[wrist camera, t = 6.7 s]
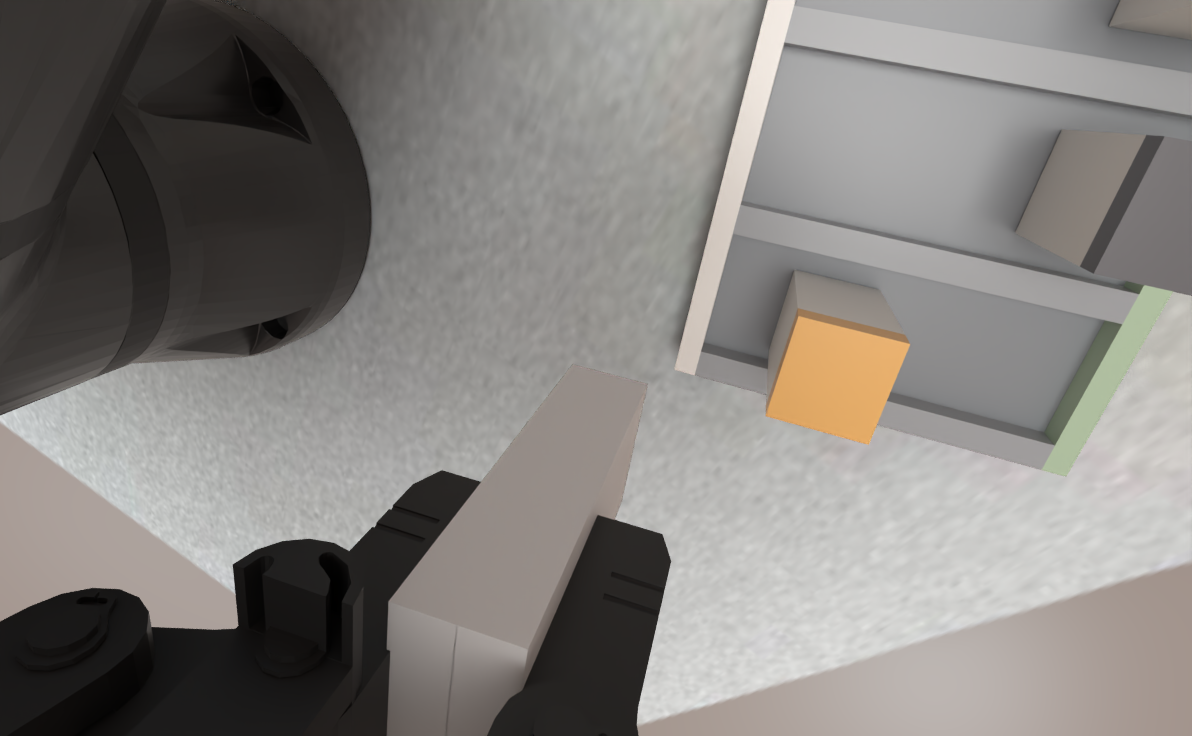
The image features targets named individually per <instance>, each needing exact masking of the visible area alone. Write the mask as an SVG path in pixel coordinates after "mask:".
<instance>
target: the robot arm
mask: <svg viewBox="0 0 1192 736" xmlns="http://www.w3.org/2000/svg"><path fill="white" fill-rule="evenodd" d="M369 229H370V207H369V195H368V187H367V181H366V176H365V171H364V167H363V163H362V159H361V156H360V153H359V149H358V146H357V143H356V141H355V138H354V135H353V133H352V130H351V128H350V126H349V124H348V121H347V119H346V117H345V115H344V113H343V111H342V109H341V107H340V105H339V104H338V102H337V100H336V98H335V97H334V95H333V93H332V92H331V90H330V89H329V87H328V86H327V84H326V83H325V81H324V80H323V78H322V77H321V76H320V74H319V73H318V72H317V71H316V69H315V68H314V67H313V65H312V64H311V63H310V62H309V61H308V60H307V59H306V58H305V56H304V55H303V54H302V53H301V52H300V51H299V50H298V49H297V48H296V47H295V46H294V45H293V44H292V43H291V42H289V41H288V40H287V39H286V38H285V37H284V36H282V35H281V34H280V33H279V32H277V31H276V30H275V29H273V28H272V27H271V26H269V25H268V24H266V23H265V22H263V21H262V20H260V19H259V18H257V17H255V16H253V15H251V14H249V13H248V12H246V11H243V10H241V9H239V8H237V7H234V6H231V5H228V4H226V3H223V2H219V1H215V0H0V415H2V414H5V413H7V412H10V411H12V410H15V409H17V408H20V407H22V406H25V405H27V404H30V403H32V402H35V401H37V400H40V399H43V398H45V397H48V396H50V395H53V394H55V393H58V392H60V391H63V390H65V389H68V388H70V387H73V386H75V385H78V384H80V383H83V382H85V381H87V380H89V379H92V378H95V377H97V376H100V375H102V374H105V373H108V372H110V371H113V370H116V369H118V368H121V367H124V366H126V365H129V364H132V363H149V362H166V361H184V360H201V359H219V358H236V357H248V356H254V355H258V354H262V353H266V352H270V351H273V350H276V349H278V348H281V347H283V346H285V345H287V344H289V343H291V342H293V341H296V340H298V339H300V338H302V337H304V336H306V335H308V334H310V333H312V332H314V331H316V330H317V329H319V328H321V327H322V326H323V325H325V324H326V323H327V322H329V321H330V320H331V319H332V318H333V317H334V316H335V315H336V314H337V313H338V312H339V311H340V309H341V308H342V307H343V306H344V304H345V303H346V302H347V300H348V299H349V297H350V295H351V294H352V292H353V290H354V288H355V286H356V284H357V282H358V279H359V277H360V274H361V272H362V268H363V265H364V262H365V257H366V253H367V248H368V240H369ZM647 385H648V384H646V383H642V382H638V381H634V380H630V379H627V378H623V377H619V376H615V375H611V374H608V373H604V372H600V371H596V370H592V369H589V368H585V367H581V366H577V365H573V364H572V366H571V367H570V368H569V369H568V371H567V372H566V373H565V375H564V376H563V377H562V378H561V380H560V381H559V382H558V384H557V385H556V386H555V387H554V389H553V390H552V391H551V393H550V394H549V395H548V397H547V398H546V399H545V400H544V402H543V403H542V404H541V406H540V407H539V408H538V409H537V411H536V412H535V413H534V415H533V416H532V417H531V418H530V420H529V421H528V422H527V424H526V425H525V426H524V427H523V429H522V430H521V431H520V433H519V434H518V435H517V437H516V438H515V439H514V440H513V442H512V443H511V444H510V446H509V447H508V448H507V449H506V451H505V452H504V453H503V455H502V456H501V457H500V458H499V460H498V461H497V462H496V464H495V465H494V466H493V467H492V469H491V470H490V471H489V473H488V474H487V475H486V477H485V478H484V479H483V480H482V482H479V481H476V480H473V479H469V478H466V477H463V476H459V475H456V474H453V473H449V472H446V471H443V470H442V471H439V472H437V473H435V474H433V475H431V476H429V477H427V478H425V479H423V480H421V481H419V482H417V483H415V484H413V485H412V486H411V487H410V488H409V489H408V490H407V491H406V492H405V493H404V494H403V495H402V496H401V497H400V499H399V500H398V501H397V502H396V503H395V504H394V505H393V508H392V510H390V509H389V510H388V511H387V512H386V513H385V514H384V515H383V516H382V517H381V519H380V520H379V521H378V522H377V524H376V526H375V528H374V527H372V528H371V529H370V530H369V531H368V532H367V533H366V534H365V535H364V536H363V537H362V539H361V540H360V541H359V542H358V543H357V544H356V545H355V546H354V547H353V548H352V549H351V550H350V551H348V550H346V549H344V548H342V547H340V546H339V545H337V544H335V543H331V542H325V541H319V540H313V539H303V540H291V541H282V542H279V543H276V544H273V545H270V546H267V547H264V548H261V549H258V550H255V551H254V552H252V553H250V554H249V555H247V556H246V557H244V558H242V559H241V560H239V561H238V562H236V563H235V564H233V571H234V582H235V593H236V604H237V613H238V625H239V626H238V627H237V628H236V629H221V630H206V629H184V628H159V627H151V622H150V616H149V611H148V610H147V609H146V607H145V606H144V604H143V603H142V601H141V600H140V598H139V597H137V596H134V595H132V594H129V593H127V592H125V591H122V590H120V589H101V588H91V589H85V590H80V591H74V592H70V593H64V594H60V595H58V596H55V597H53V598H51V599H48V600H45V601H42V602H40V603H37V604H35V605H32V606H30V607H28V608H26V609H24V610H22V611H20V612H18V613H16V614H14V615H12V616H10V617H8V618H6V619H4V620H3V621H1V622H0V736H638V730H637V713H638V705H639V701H640V696H641V692H642V687H643V683H644V678H645V674H646V670H647V665H648V661H649V656H650V652H651V647H652V643H653V639H654V634H655V630H656V625H657V621H658V616H659V612H660V608H661V603H662V599H663V594H664V590H665V586H666V581H667V577H668V572H669V568H670V563H671V560H670V556H669V553H668V550H667V547H666V544H665V541H664V538H663V535H662V534H660V533H656V532H653V531H650V530H646V529H643V528H640V527H636V526H633V525H630V524H627V523H623V522H620V521H617V520H615V517H616V515H617V512H618V510H619V507H620V504H621V502H622V498H623V493H624V489H625V484H626V480H627V475H628V471H629V466H630V462H631V457H632V453H633V448H634V444H635V439H636V435H637V430H638V426H639V421H640V417H641V412H642V408H643V403H644V399H645V394H646V390H647Z"/></svg>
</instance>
